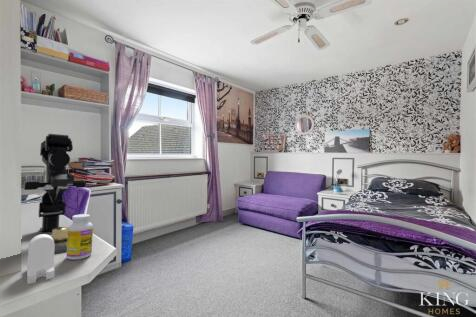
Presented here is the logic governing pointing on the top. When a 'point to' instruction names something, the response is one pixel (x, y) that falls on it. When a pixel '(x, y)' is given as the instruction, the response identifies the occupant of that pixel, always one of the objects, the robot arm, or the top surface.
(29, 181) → the robot arm
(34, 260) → the cable organizer
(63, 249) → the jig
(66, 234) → the gold rounded cylinder
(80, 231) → the supplement bottle
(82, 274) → the top surface
